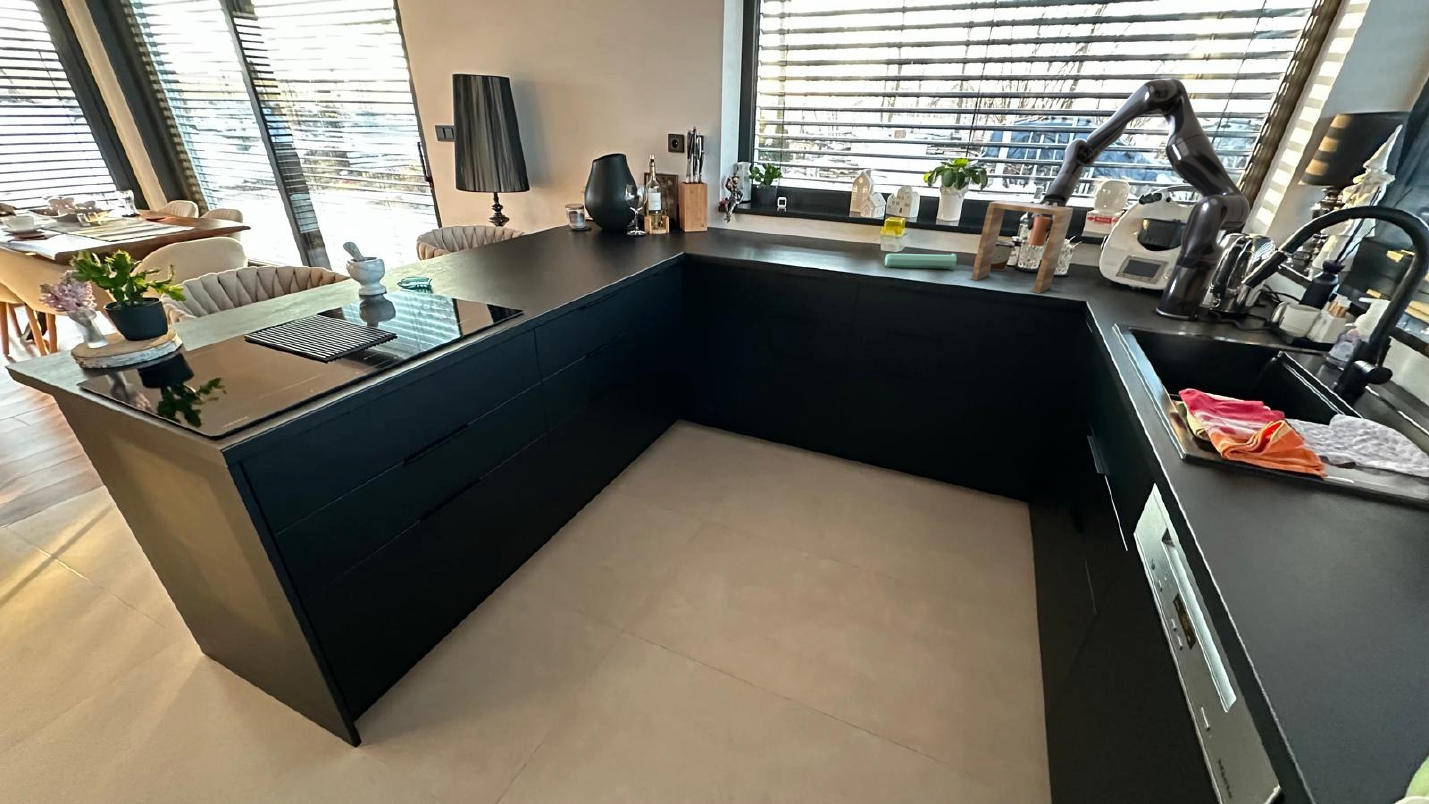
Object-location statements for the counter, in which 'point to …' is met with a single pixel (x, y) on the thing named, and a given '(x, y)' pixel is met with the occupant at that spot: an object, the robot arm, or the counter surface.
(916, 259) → the container
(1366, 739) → the counter surface
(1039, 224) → the tea tin
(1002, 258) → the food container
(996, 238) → the shelf
